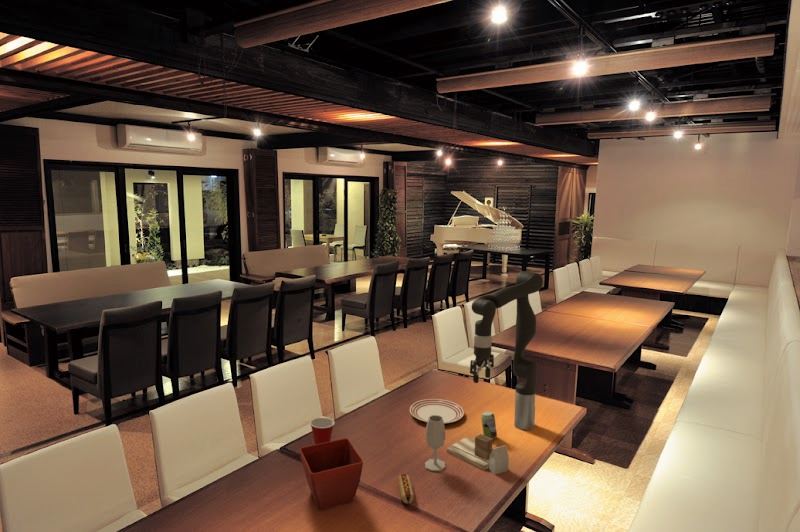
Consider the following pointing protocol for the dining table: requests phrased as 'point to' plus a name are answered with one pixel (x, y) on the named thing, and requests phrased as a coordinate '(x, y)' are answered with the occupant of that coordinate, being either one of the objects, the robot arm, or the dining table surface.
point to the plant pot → (332, 472)
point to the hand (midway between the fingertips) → (481, 380)
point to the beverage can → (489, 424)
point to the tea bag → (499, 460)
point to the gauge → (483, 446)
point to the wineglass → (435, 441)
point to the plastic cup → (322, 429)
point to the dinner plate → (436, 410)
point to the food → (405, 489)
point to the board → (468, 453)
